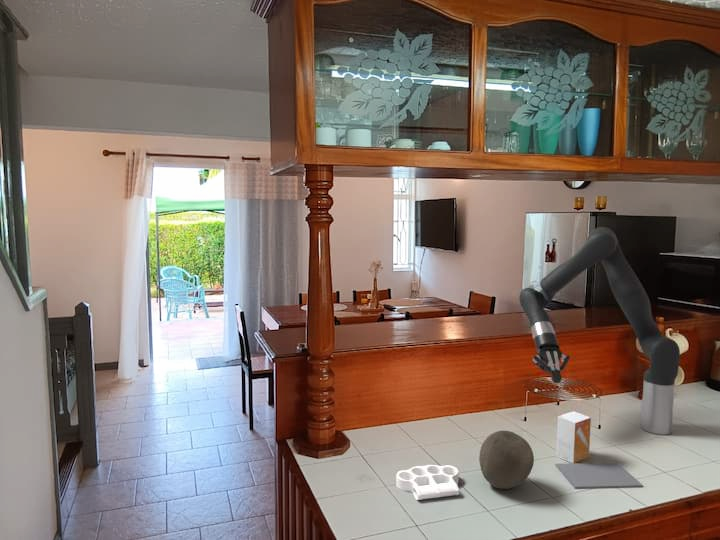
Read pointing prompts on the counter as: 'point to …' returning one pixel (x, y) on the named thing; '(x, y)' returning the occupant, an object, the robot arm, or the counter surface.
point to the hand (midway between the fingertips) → (557, 382)
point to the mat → (597, 475)
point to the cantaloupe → (505, 459)
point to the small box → (573, 437)
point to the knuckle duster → (429, 481)
